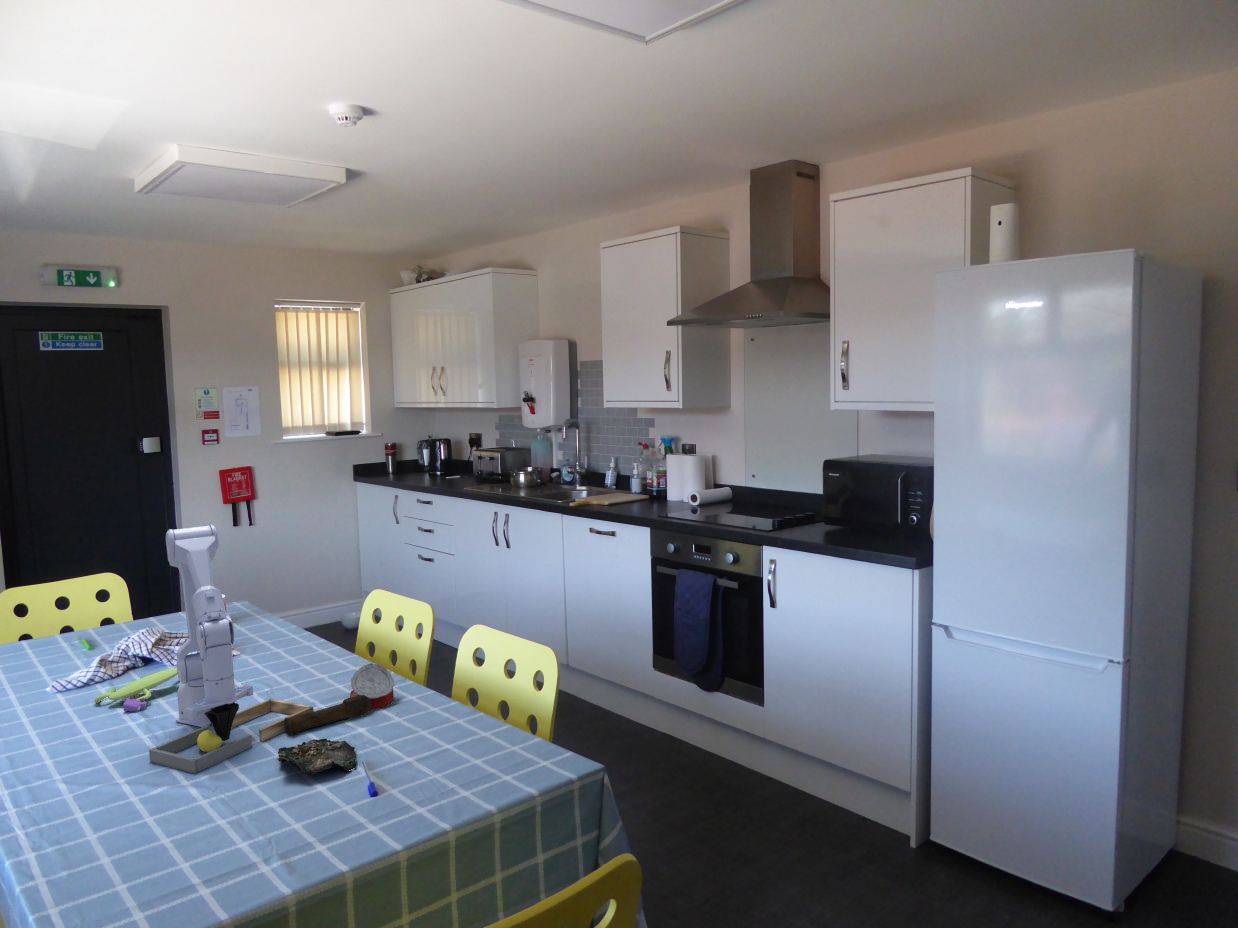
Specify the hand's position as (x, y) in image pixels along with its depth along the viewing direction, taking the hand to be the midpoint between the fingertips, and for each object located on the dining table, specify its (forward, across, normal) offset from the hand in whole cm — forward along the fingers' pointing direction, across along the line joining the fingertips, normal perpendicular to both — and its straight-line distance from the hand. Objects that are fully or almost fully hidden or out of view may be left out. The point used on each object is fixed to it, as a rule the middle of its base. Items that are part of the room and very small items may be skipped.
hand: (223, 739), depth 174 cm
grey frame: (+1, -5, 0) cm, 5 cm away
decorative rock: (+2, +1, -25) cm, 25 cm away
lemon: (+1, -3, 0) cm, 4 cm away
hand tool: (+2, +17, -12) cm, 21 cm away
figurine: (+2, +15, +42) cm, 44 cm away
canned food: (+1, +30, -13) cm, 33 cm away
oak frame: (+1, +11, 0) cm, 11 cm away
